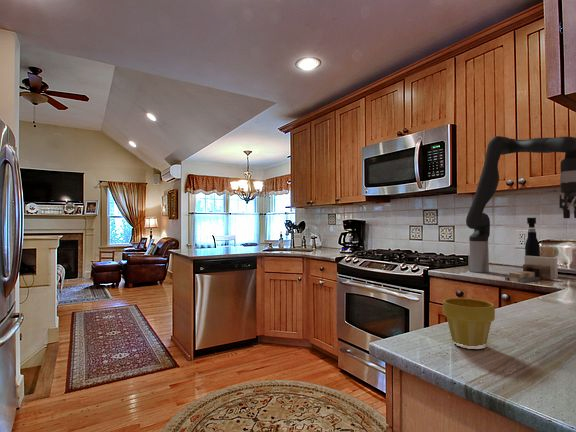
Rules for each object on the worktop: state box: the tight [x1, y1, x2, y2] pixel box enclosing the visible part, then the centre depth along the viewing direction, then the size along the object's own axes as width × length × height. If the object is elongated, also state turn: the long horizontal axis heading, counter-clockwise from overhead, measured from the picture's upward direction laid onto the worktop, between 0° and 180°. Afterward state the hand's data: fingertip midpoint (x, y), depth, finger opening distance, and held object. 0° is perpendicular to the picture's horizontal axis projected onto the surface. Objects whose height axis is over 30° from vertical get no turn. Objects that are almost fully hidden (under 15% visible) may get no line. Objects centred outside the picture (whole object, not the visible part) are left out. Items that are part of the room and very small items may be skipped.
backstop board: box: [523, 255, 559, 280], centre depth 170 cm, size 14×2×10 cm, turn 24°
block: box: [522, 263, 552, 281], centre depth 165 cm, size 9×6×6 cm, turn 24°
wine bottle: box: [524, 217, 541, 257], centre depth 179 cm, size 6×6×30 cm
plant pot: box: [442, 297, 496, 346], centre depth 77 cm, size 10×10×10 cm
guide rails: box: [504, 275, 541, 284], centre depth 160 cm, size 8×14×2 cm, turn 114°
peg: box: [508, 271, 535, 283], centre depth 160 cm, size 12×4×4 cm, turn 111°
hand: (572, 218), depth 149 cm, fingers open, 8 cm apart
